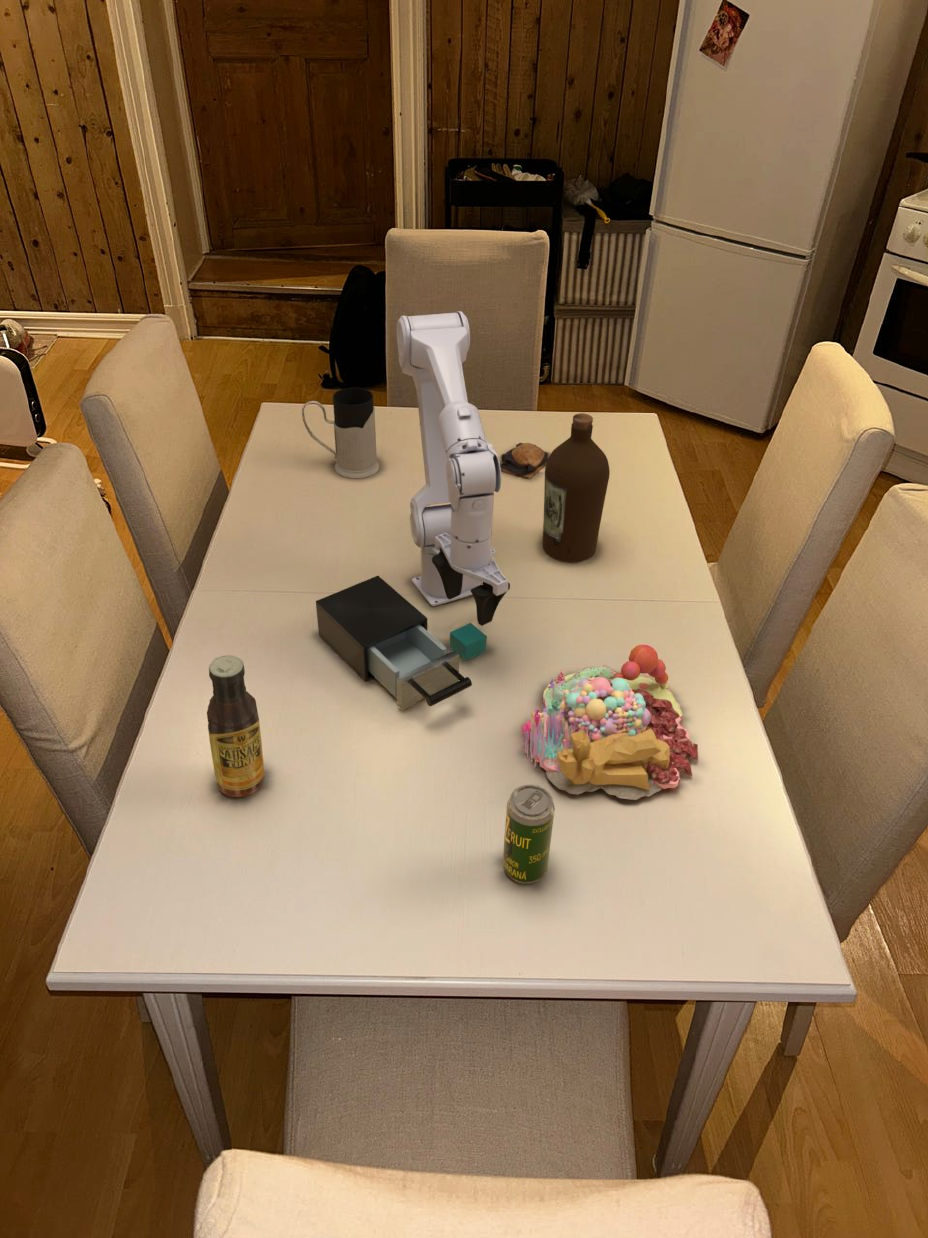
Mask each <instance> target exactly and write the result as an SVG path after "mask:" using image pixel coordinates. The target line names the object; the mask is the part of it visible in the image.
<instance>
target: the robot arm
mask: <svg viewBox="0 0 928 1238" xmlns="http://www.w3.org/2000/svg"><path fill="white" fill-rule="evenodd" d="M396 343H397V352H398V362H399V367H400V369H401V373H402V374H404V375H407V376H410V377H412V380H413V383H414V385H415V386H414V387H415V390H416V398H417V399H416V400H417V409H418V410H417V411H418V419H419V420H418V421H419V430H420V439H421V448H422V459H423V468H424V479H425V484H424V485H423V486H422V488H420V489H419V490H418V491H417V492H416V493H415V494H414V495H413V496H412V498H411V499H410V502H409V506H410V507H409V508H410V513H409V514H410V515H409V523H410V525H409V526H410V532H411V537H412V541H413V543H414V545H415V546H417V547H418V548H419V549H420V575H419V576H415V577H413V578H411V582H412V583H413V585H414V586H415V587H416V589H417V591H419V592H420V594H421V595H422V597H424V599H425V600H426V601H427V603H428V604H429V605H430V606H431V607H437V606H440V605H443V604H446V603H450V602H454V601H457V600H460V599H465V598H467V597H470V596H473V599H474V602H475V606H476V620H477V623H478V625H479V626H482V627H483V626H485V625H487V624H489V623H491V622H492V621H493V620H494V617H495V613H496V611H497V609H498V606H499V605H500V602H501V600H502V599H503V597H504V596H505V595H506V594H507V593H508V591H510V589H511V583H510V582H509V581H510V580H509V579H508V578H507V577H506V576H505V575H504V574H503V573H502V571H501V569H500V568H499V566H498V564H497V562H496V561H495V559H494V558H495V557H496V556H497V551H496V550H495V549H494V548H493V547H492V543H493V524H494V523H493V522H494V521H493V520H494V503H495V501H494V500H495V493H499V492H500V491H501V487H502V471H501V469H500V458H499V455H498V453H497V451H496V449H494V448H493V444H492V443H491V442H488V440H487V437H486V433H485V429H484V426H483V422H482V418H481V415H480V410H479V409H478V408H477V406H475V405H474V404H472V403H470V402H469V401H468V394H467V388H466V381H465V377H464V369H463V363H464V362H466V361H467V356H468V352H469V350H470V347H471V330H470V324H469V320H468V317H467V316H466V314H464V312H463V311H461V310H458V311H456V312H448V313H447V312H445V313H433V314H420V315H408V316H407V315H400V317H399V318H398V320H397V323H396ZM448 503H449V504H448Z"/></svg>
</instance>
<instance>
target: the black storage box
mask: <svg viewBox="0 0 928 1238" xmlns="http://www.w3.org/2000/svg"><path fill="white" fill-rule="evenodd" d="M315 608H316V619H317V629H318V631H317V632H318V636H319V637H320V638H321V639H322V640H323V641H324V642H325V643H326V645H328V646H329V647H330V648H331V650H333V651H334V653H336V654H337V655H338V656H339V657H340V658H341V659H342V660H343V661H344V662H345V663H346V664H347V665H348V666H349V667H350V669H352V671H354V672H355V673H356V674H357V675H358V676H359V677H360V678H361V679H362V681H364V683H367V682H369V681H371V680H374V679H376V678H375V677H374V676H373V675H372V674H371V673H370V672H369V671H368V659H367V649H368V648H370V647H372V646H374V645H376V644H379V643H381V642H383V641H385V640H387V639H390V638H392V637H394V636H396V635H398V634H401V633H403V632H405V631H407V630H409V629H412V628H414V627H416V626H418V625H421V626H422V627H423V628H425V629H426V630H427V631H428V628H429V627H428V624H429V623H428V621H429V620H428V617H427V616H426V615H424V614H423V612H421V611H420V610H418V609H417V608H416V607H415V606H414V605H413V604H412V603H411V602H409V600H407V599H406V598H405V597H404V596H403V595H402V594H400V593H399V592H398V591H397V590H396V589H395V588H393V587H392V586H391V585H390V584H389V583H388V582H387V581H385V580H384V579H383V578H382V577H381V576H380V575H375V576H373V577H371V578H368V579H365V580H363V581H361V582H359V583H356V584H354V585H351V586H349V587H347V588H344V589H342V590H339V591H337V592H334V593H331V594H330V595H327V596H325V597H322V598H320V599H317V600H315ZM428 632H429V631H428Z"/></svg>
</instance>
